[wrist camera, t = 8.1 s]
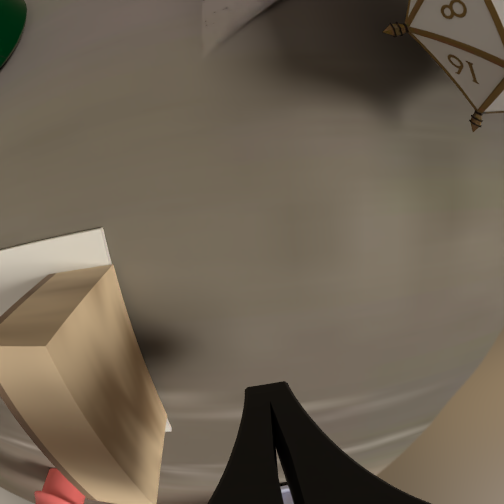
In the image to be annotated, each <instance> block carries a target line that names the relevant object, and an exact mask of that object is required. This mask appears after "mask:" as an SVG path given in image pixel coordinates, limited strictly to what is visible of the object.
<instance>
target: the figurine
mask: <svg viewBox="0 0 504 504" xmlns="http://www.w3.org/2000/svg"><path fill="white" fill-rule="evenodd" d="M35 499H36V504H84V500H85V496H84V495H83V494H82V493H81V492H80V491H79V490H78V489H77V488H76V487H75V486H74V485H72V484H71V483H70V482H69V481H68V480H67V479H66V478H65V477H64V475H63V474H62V473H61V472H60V471H59V470H58V469H57V468H51V469H49V472H48V475H47V477H46V480H45V483H44V486H43V489H42V491H35Z"/></svg>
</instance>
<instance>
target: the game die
mask: <svg viewBox="0 0 504 504" xmlns="http://www.w3.org/2000/svg"><path fill="white" fill-rule="evenodd" d="M406 32H407V33H408V34H409V35H410V36H412V37H413V38H414V39H415V40H416V41H417V42H418V43H419V44H420V45H421V46H422V47H423V48H424V49H425V51H426V52H427V53H428V54H429V55H430V56H431V57H432V58H433V59H434V60H435V61H436V62H437V63H438V65H439V66H440V67H441V68H442V69H443V70H444V71H445V73H446V74H447V75H448V76H449V77H450V78H451V80H452V81H453V82H454V83H455V84H456V86H457V87H458V88H459V89H460V91H461V92H462V93H463V95H464V96H465V97H466V98H467V100H468V101H469V102H470V104H471V105H472V107H473V108H474V109H475V112H474V114H473V115H471V116H472V118H471V120H469V121H470V122H471V126H472V131H473V132H474V131H475V130H476V129H477V128H479V127H481V122H482V121H483V120H482V114H489V113H504V0H409V2H408V8H407V14H406V19H405V23H404V24H398V23H397V22H396V24H391V23H390V25H389V26H388V27H387V28H386V29H385V30H384V31H383V33H387V34H390V35H393V36H394V37H397V35H400V36H402V35H403V34H404V33H406Z"/></svg>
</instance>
